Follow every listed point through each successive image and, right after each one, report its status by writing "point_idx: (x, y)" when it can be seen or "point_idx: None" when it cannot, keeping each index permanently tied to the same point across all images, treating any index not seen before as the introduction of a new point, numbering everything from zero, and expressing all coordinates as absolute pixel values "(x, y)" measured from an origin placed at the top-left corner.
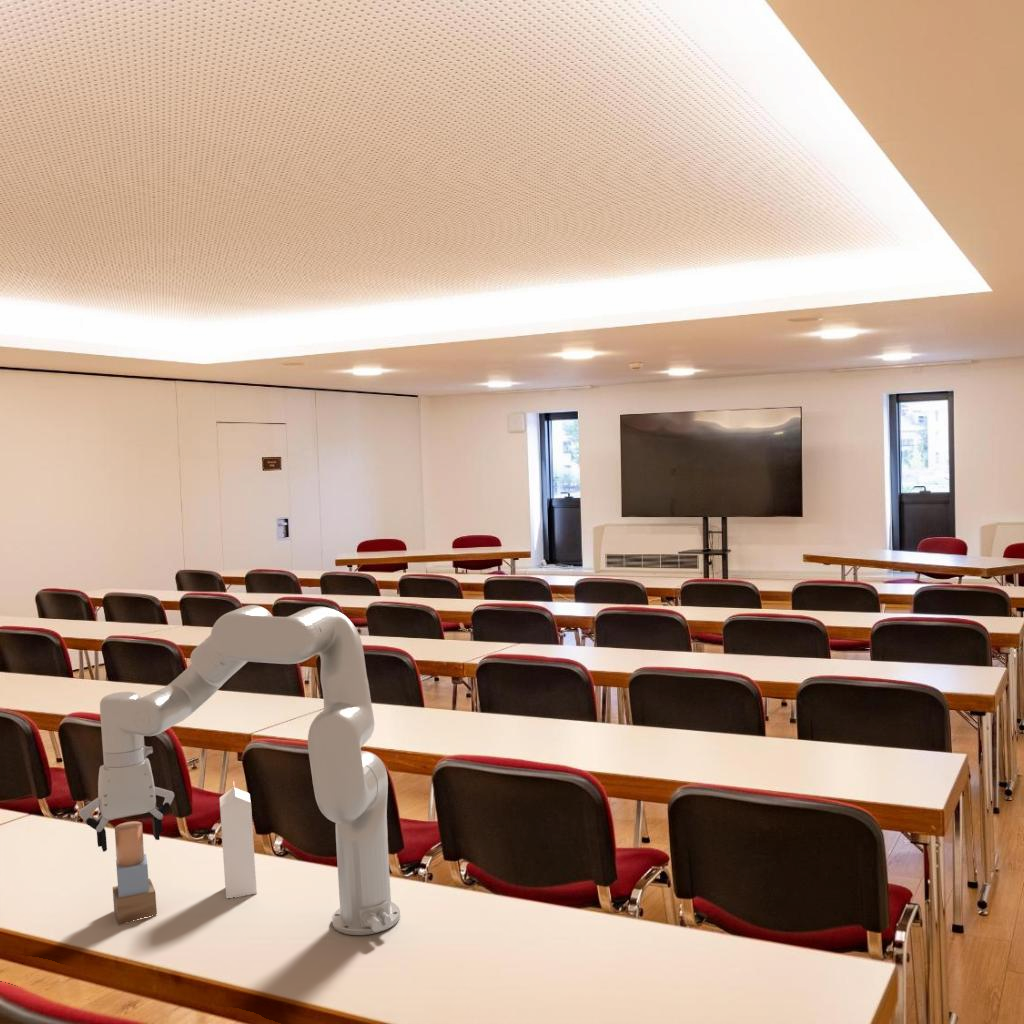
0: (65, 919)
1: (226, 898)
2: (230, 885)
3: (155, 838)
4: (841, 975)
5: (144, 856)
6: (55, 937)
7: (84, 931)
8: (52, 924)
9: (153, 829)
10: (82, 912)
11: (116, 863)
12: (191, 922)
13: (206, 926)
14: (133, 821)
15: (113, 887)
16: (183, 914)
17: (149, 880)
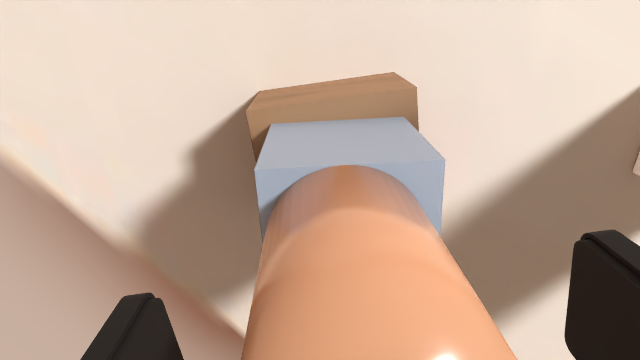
0: (86, 85)
1: (633, 172)
2: None
3: (570, 344)
4: None
5: (432, 196)
6: (92, 214)
7: (178, 211)
8: (48, 109)
9: (619, 314)
10: (138, 48)
11: (262, 234)
12: (489, 281)
13: (520, 318)
14: (471, 357)
15: (250, 117)
16: (479, 222)
17: (412, 111)
